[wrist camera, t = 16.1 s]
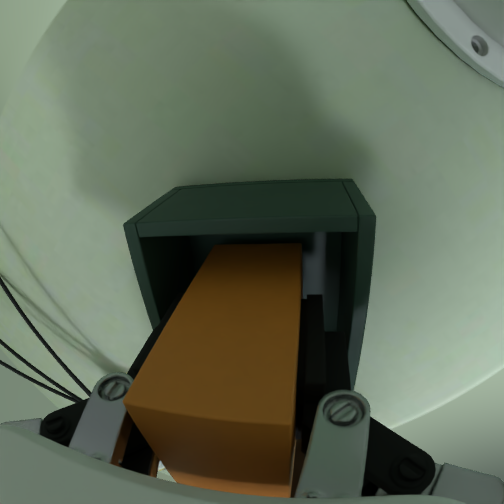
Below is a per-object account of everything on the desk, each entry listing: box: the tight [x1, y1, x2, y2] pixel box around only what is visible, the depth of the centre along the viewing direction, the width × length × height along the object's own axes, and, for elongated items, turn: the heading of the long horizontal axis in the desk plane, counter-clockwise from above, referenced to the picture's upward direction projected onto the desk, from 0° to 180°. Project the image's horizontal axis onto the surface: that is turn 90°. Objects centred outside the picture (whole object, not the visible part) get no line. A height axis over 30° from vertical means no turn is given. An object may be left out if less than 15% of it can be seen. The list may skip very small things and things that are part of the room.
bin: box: [123, 179, 376, 391], centre depth 12 cm, size 8×8×4 cm
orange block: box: [123, 243, 303, 498], centre depth 10 cm, size 4×4×8 cm
